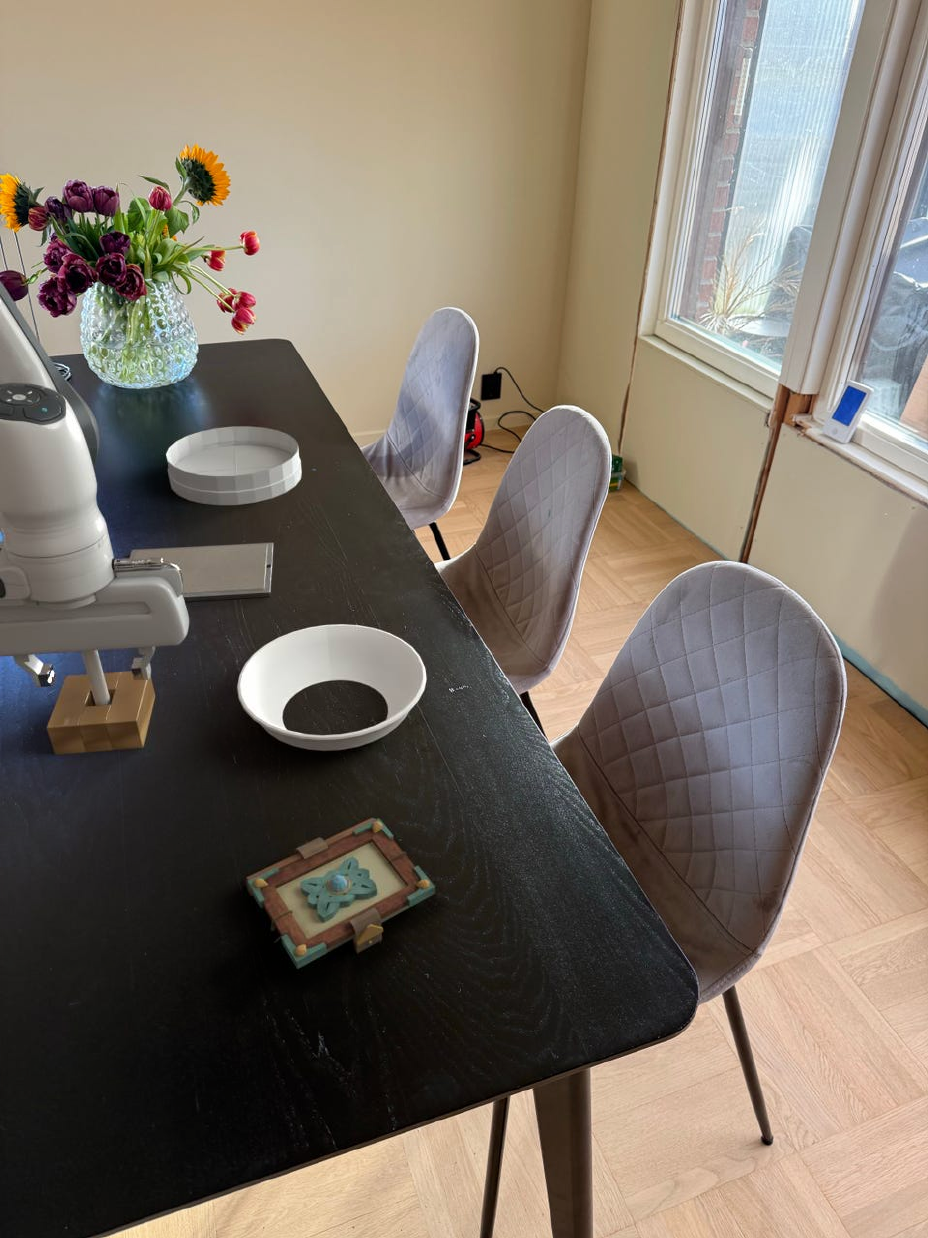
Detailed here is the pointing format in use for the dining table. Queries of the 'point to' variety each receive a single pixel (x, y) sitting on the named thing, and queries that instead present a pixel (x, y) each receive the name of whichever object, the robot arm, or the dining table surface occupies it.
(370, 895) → the decorative book
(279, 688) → the white flared ring
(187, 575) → the tablet
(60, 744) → the holder
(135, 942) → the dining table surface
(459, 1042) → the dining table surface
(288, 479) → the dish
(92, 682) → the stylus
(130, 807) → the dining table surface
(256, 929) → the dining table surface
